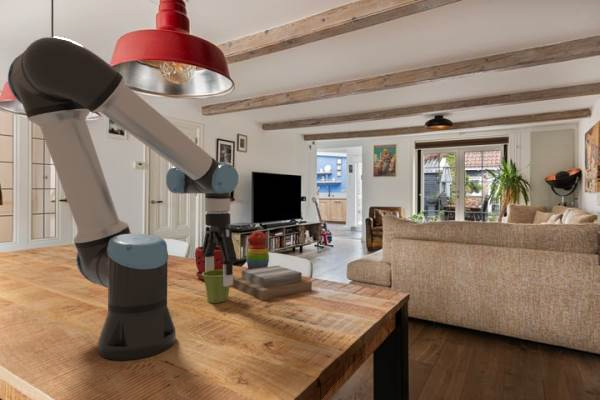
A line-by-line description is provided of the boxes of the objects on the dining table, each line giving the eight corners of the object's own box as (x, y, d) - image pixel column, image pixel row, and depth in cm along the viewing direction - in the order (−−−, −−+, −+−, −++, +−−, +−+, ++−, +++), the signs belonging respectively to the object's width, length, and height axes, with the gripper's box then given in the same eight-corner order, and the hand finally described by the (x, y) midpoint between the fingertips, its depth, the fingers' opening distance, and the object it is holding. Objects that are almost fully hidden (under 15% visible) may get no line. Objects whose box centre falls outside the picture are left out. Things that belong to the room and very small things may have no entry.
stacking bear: (251, 270, 152) (251, 229, 152) (273, 271, 149) (273, 230, 149) (240, 275, 142) (240, 231, 142) (262, 277, 139) (262, 232, 139)
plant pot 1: (211, 283, 129) (211, 251, 129) (188, 278, 136) (188, 247, 136) (236, 276, 140) (236, 246, 140) (213, 272, 147) (213, 244, 147)
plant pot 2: (196, 304, 103) (196, 275, 103) (209, 295, 113) (209, 268, 113) (226, 306, 102) (226, 276, 102) (237, 296, 111) (237, 269, 111)
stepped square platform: (311, 290, 120) (311, 272, 120) (261, 300, 108) (261, 281, 108) (279, 279, 136) (279, 263, 136) (232, 286, 124) (232, 270, 124)
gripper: (248, 213, 99) (248, 287, 100) (213, 210, 119) (213, 272, 120) (223, 215, 95) (224, 292, 95) (191, 211, 115) (192, 275, 115)
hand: (218, 281), depth 108 cm, fingers open, 13 cm apart
